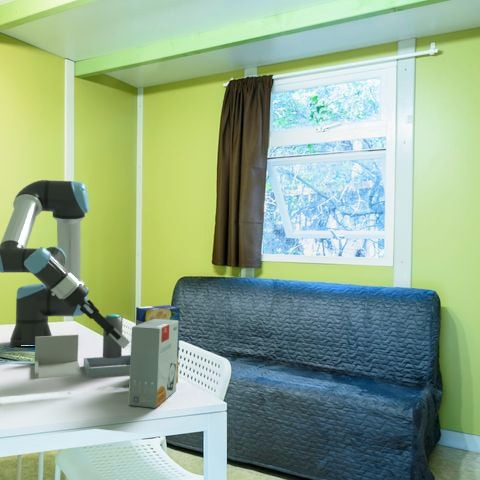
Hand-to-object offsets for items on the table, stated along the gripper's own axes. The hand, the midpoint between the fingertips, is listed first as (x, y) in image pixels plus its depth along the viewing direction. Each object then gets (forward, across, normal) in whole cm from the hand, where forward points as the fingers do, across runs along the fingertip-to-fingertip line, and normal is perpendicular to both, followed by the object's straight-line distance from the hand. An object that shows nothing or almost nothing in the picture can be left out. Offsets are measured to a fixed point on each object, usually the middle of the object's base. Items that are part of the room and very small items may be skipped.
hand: (124, 343), depth 149 cm
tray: (+4, 0, -9) cm, 10 cm away
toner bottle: (0, 0, -5) cm, 5 cm away
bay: (-7, -6, -20) cm, 22 cm away
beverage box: (+12, +12, -2) cm, 17 cm away
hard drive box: (+10, +26, -5) cm, 28 cm away
